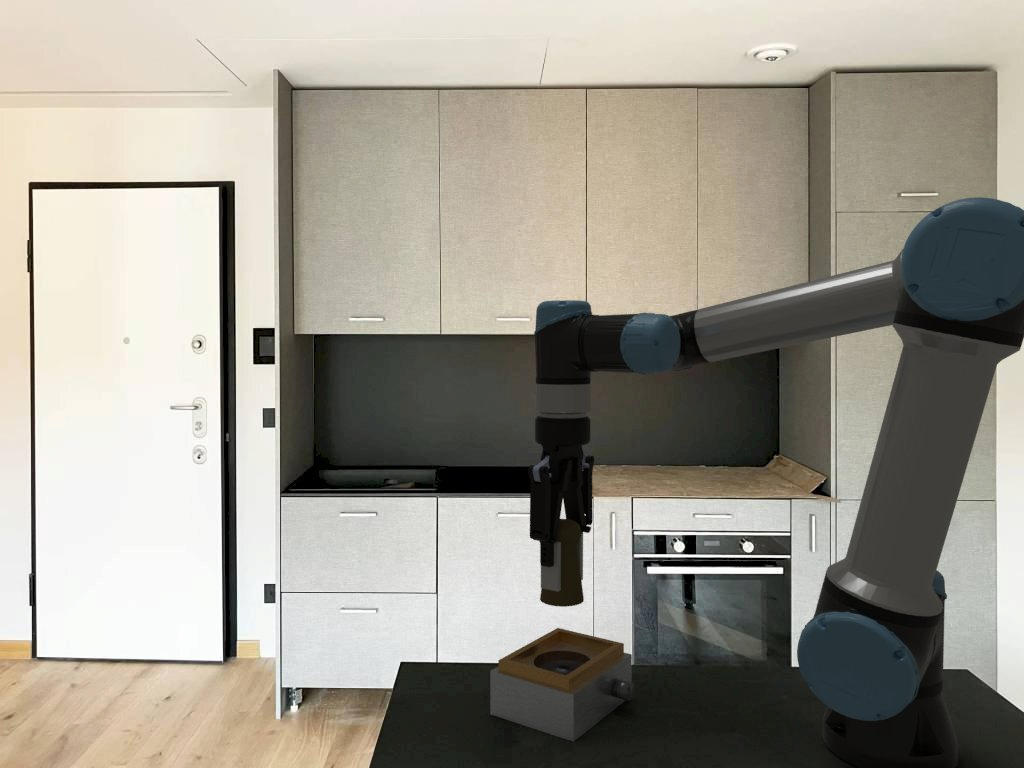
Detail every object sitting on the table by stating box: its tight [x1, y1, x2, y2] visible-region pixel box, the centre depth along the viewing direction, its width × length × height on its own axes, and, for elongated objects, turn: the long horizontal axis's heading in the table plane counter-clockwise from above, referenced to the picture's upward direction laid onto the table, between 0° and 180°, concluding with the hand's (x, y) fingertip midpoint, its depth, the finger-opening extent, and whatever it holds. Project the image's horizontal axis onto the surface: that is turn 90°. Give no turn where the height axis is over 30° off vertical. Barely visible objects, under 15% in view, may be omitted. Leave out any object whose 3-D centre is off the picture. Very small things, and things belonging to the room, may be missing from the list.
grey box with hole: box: [489, 627, 636, 743], centre depth 110 cm, size 15×16×8 cm
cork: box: [539, 518, 585, 608], centre depth 110 cm, size 6×6×11 cm
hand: (562, 583), depth 110 cm, fingers closed on cork, 5 cm apart
